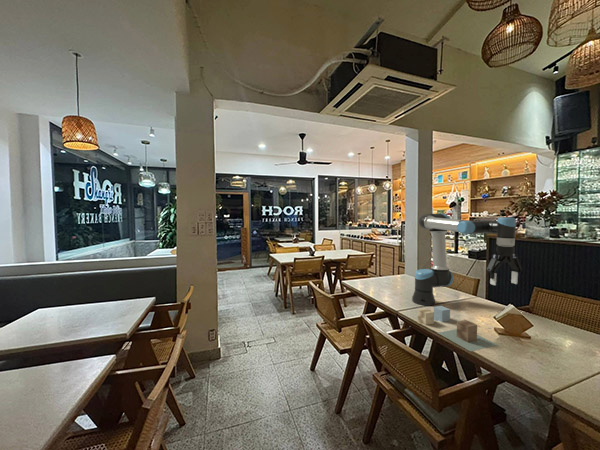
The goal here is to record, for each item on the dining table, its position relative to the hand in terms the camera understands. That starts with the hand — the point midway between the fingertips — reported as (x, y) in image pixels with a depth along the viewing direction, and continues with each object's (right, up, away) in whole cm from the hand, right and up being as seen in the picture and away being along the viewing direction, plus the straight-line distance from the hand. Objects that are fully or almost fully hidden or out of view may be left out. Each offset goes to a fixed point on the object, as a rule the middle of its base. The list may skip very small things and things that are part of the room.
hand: (503, 284), depth 130 cm
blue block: (-27, -26, +12) cm, 39 cm away
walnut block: (-28, -25, -10) cm, 39 cm away
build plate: (-27, -27, -10) cm, 39 cm away
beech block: (-38, -26, +9) cm, 47 cm away
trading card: (-10, -26, +11) cm, 30 cm away
